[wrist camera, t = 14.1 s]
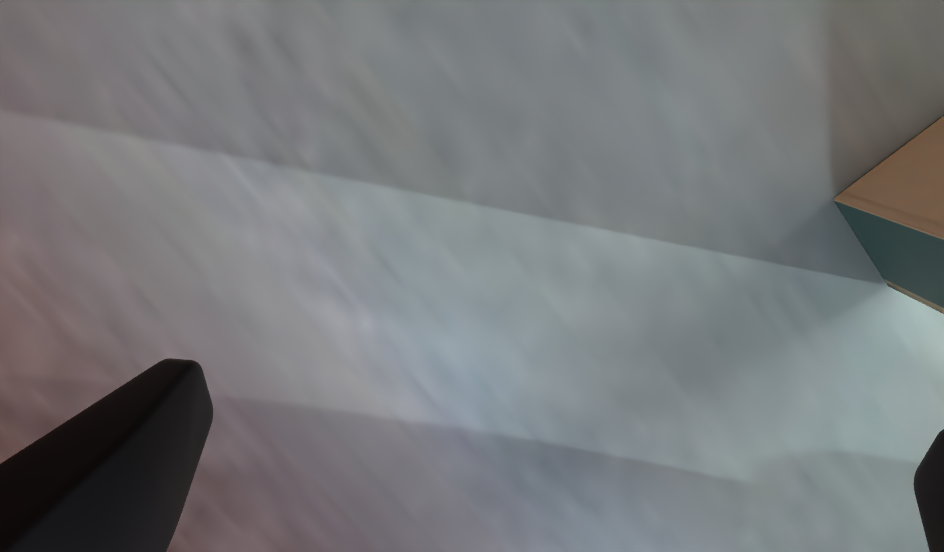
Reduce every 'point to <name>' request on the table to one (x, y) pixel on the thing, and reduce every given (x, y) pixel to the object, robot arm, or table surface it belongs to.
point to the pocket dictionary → (904, 216)
